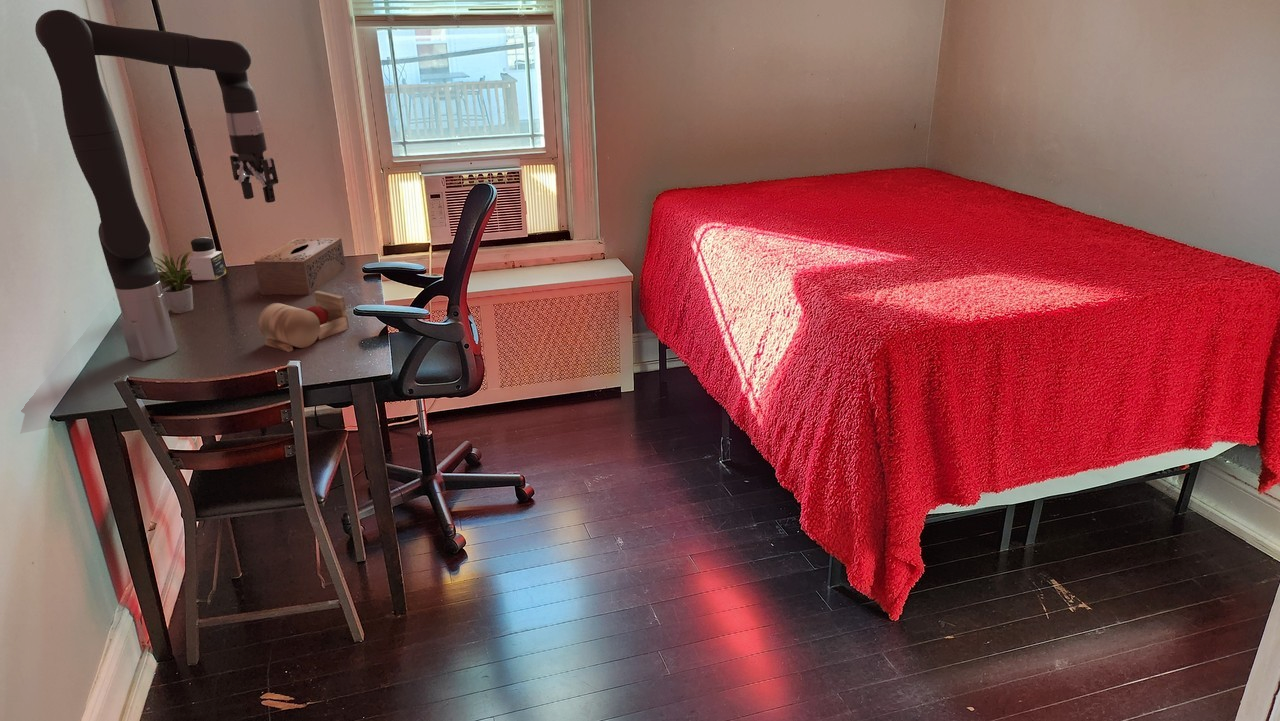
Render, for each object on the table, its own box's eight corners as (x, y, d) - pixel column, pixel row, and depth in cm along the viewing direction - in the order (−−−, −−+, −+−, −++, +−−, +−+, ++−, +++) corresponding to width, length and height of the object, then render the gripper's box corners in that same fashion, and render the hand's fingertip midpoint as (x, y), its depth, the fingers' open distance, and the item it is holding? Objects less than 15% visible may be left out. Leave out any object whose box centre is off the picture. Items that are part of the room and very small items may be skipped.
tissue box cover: (309, 295, 238) (303, 261, 234) (261, 295, 239) (254, 261, 235) (346, 269, 261) (341, 238, 258) (301, 269, 263) (296, 238, 259)
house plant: (180, 298, 237) (166, 242, 230) (223, 301, 234) (210, 244, 228) (143, 316, 224) (127, 256, 217) (188, 318, 221) (173, 258, 215)
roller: (323, 340, 204) (316, 305, 200) (291, 352, 197) (283, 316, 193) (294, 332, 209) (288, 298, 206) (262, 344, 203) (255, 309, 199)
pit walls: (319, 339, 204) (313, 308, 201) (288, 330, 211) (282, 300, 208) (352, 327, 212) (346, 297, 209) (320, 319, 218) (315, 289, 215)
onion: (311, 318, 204) (337, 308, 210) (295, 306, 205) (322, 297, 212) (309, 337, 207) (335, 327, 213) (294, 325, 209) (320, 316, 215)
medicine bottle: (216, 280, 253) (207, 241, 248) (192, 280, 253) (183, 241, 248) (227, 273, 259) (218, 235, 255) (204, 273, 260) (195, 235, 255)
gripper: (213, 132, 197) (228, 200, 203) (249, 135, 190) (263, 206, 196) (242, 128, 203) (256, 194, 209) (278, 131, 196) (291, 200, 202)
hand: (259, 200), depth 203 cm, fingers open, 8 cm apart
